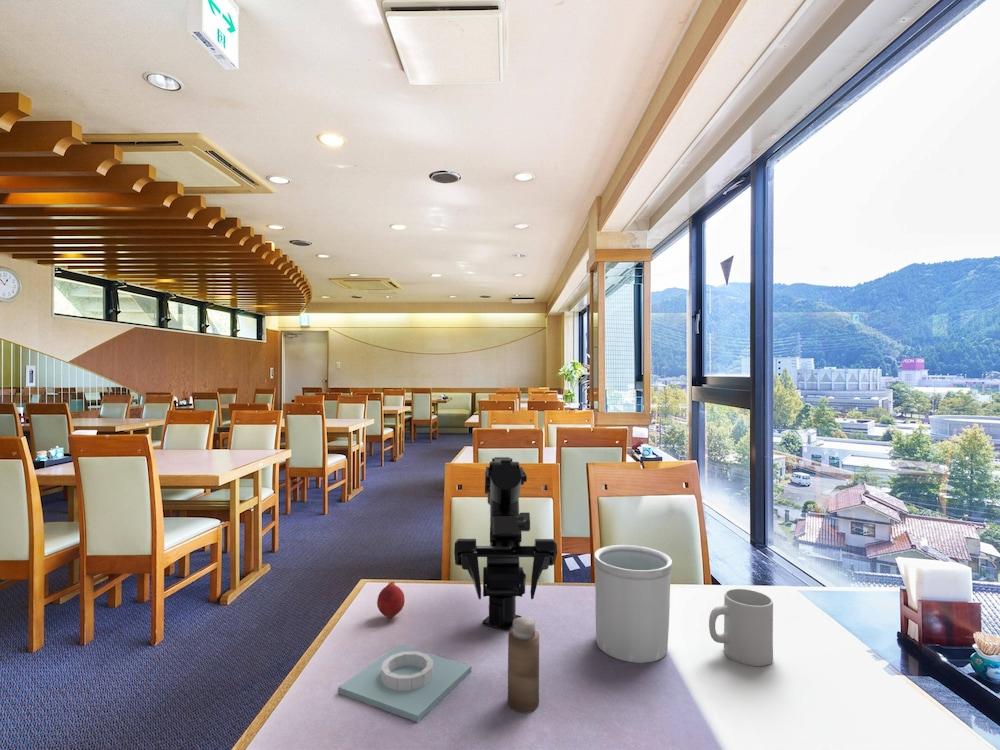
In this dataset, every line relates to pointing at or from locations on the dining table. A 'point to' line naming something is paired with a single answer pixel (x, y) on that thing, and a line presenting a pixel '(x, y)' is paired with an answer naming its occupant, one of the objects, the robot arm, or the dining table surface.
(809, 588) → the dining table surface
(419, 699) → the board
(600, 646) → the utensil holder
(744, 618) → the mug
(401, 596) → the onion
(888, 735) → the dining table surface
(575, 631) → the dining table surface
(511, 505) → the robot arm
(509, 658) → the pepper mill
